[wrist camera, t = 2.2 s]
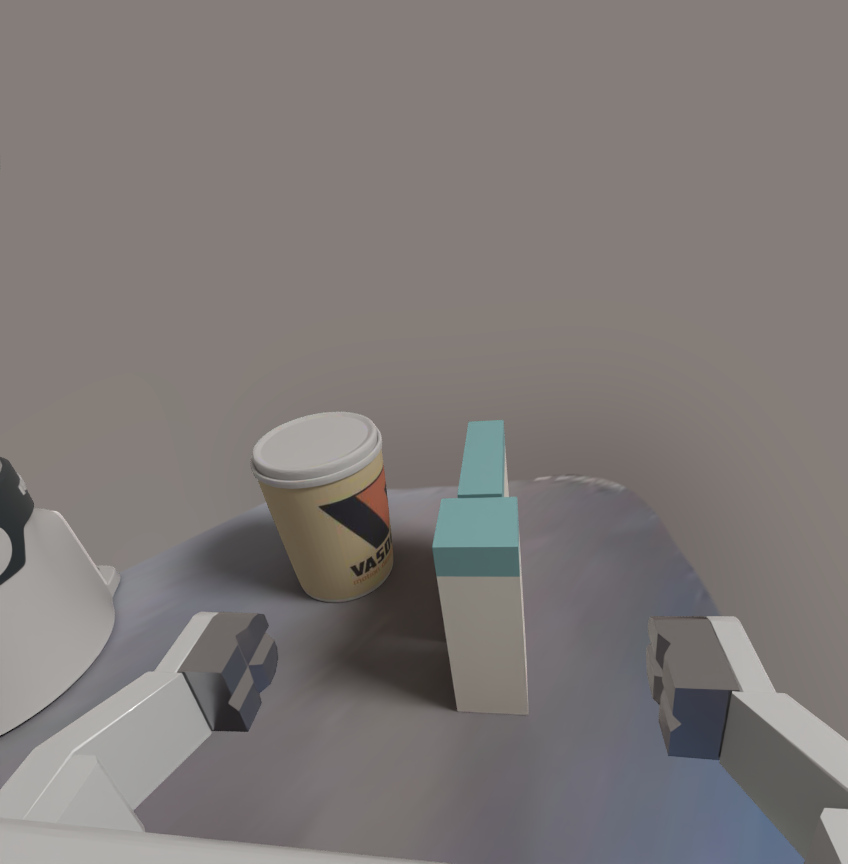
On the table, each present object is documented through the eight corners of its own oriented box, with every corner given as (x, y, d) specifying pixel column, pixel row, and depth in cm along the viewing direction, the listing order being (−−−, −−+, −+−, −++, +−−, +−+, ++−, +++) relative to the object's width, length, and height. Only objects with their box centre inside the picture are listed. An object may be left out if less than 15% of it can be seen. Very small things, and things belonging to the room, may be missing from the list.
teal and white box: (474, 646, 34) (455, 494, 28) (480, 553, 42) (467, 421, 36) (514, 647, 33) (503, 493, 28) (513, 553, 41) (504, 419, 36)
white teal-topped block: (457, 711, 30) (432, 547, 25) (462, 653, 33) (441, 498, 28) (528, 715, 29) (518, 546, 24) (526, 655, 33) (516, 496, 27)
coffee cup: (372, 622, 37) (338, 479, 31) (265, 598, 40) (218, 465, 35) (421, 540, 44) (400, 412, 39) (327, 525, 48) (297, 407, 42)
